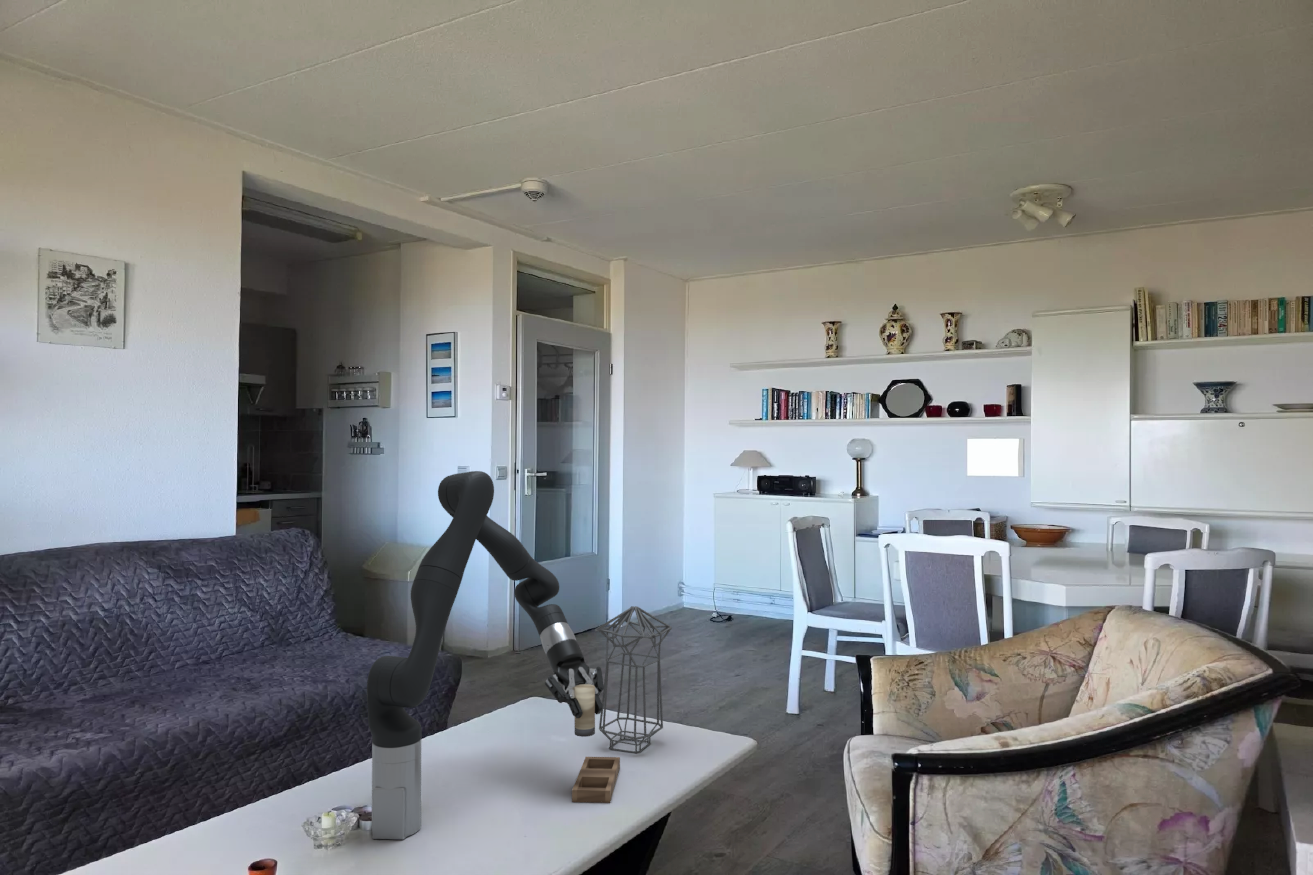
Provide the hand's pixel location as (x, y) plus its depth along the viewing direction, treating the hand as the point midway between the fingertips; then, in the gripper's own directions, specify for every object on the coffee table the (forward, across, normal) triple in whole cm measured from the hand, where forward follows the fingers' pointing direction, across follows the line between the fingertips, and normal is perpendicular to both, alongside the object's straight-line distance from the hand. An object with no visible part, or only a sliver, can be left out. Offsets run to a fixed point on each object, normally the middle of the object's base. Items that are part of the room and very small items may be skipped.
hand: (589, 714), depth 184 cm
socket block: (+9, +4, +15) cm, 18 cm away
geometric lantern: (-1, +25, +26) cm, 36 cm away
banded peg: (+2, 0, +5) cm, 5 cm away
